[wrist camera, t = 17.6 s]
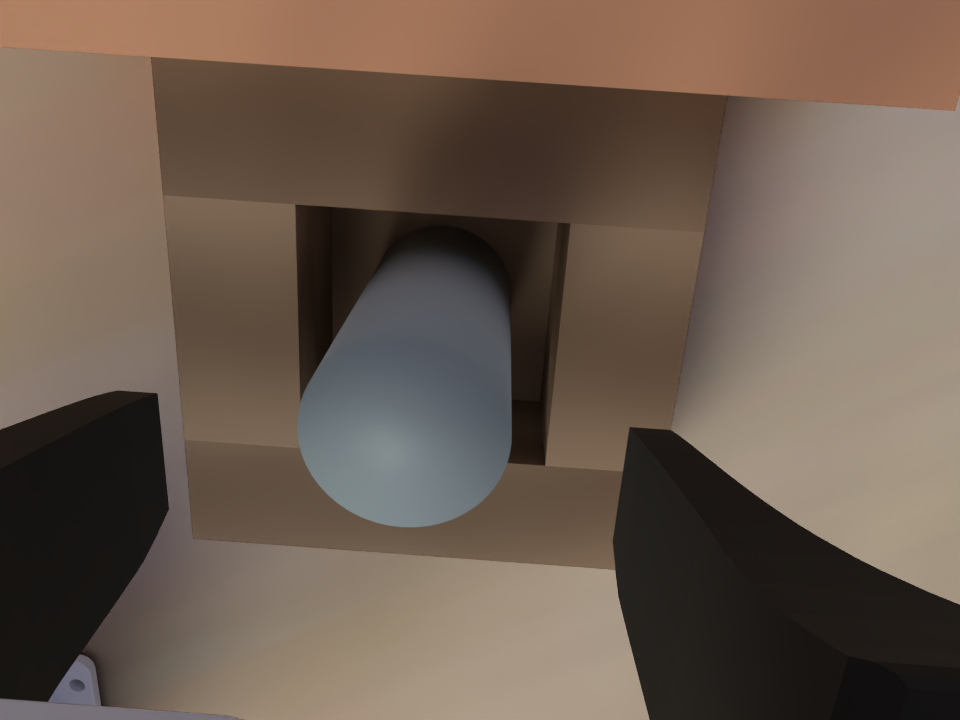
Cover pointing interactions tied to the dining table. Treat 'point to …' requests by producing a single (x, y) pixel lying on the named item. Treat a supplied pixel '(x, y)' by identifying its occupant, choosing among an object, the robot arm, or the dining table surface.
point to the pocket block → (376, 228)
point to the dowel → (416, 385)
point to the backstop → (545, 41)
